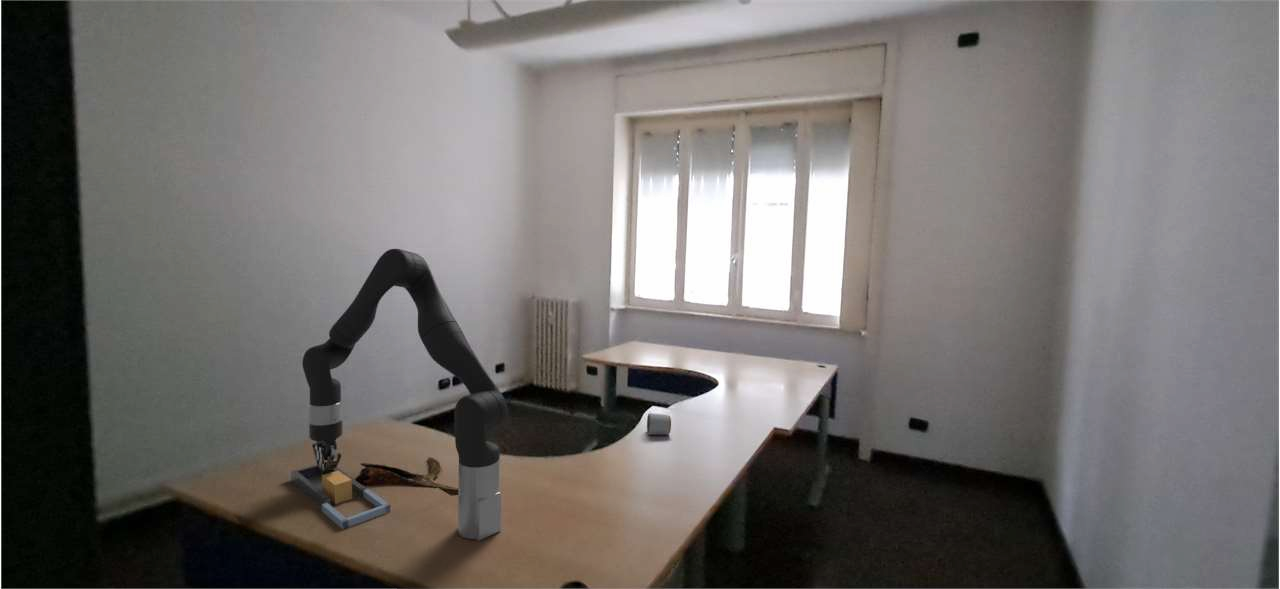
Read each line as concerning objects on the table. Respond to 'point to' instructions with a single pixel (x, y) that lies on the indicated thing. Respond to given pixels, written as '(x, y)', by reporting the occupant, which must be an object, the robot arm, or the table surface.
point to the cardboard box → (340, 489)
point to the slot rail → (312, 485)
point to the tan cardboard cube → (327, 477)
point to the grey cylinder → (658, 424)
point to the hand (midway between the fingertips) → (326, 482)
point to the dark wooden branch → (391, 475)
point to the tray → (343, 522)
